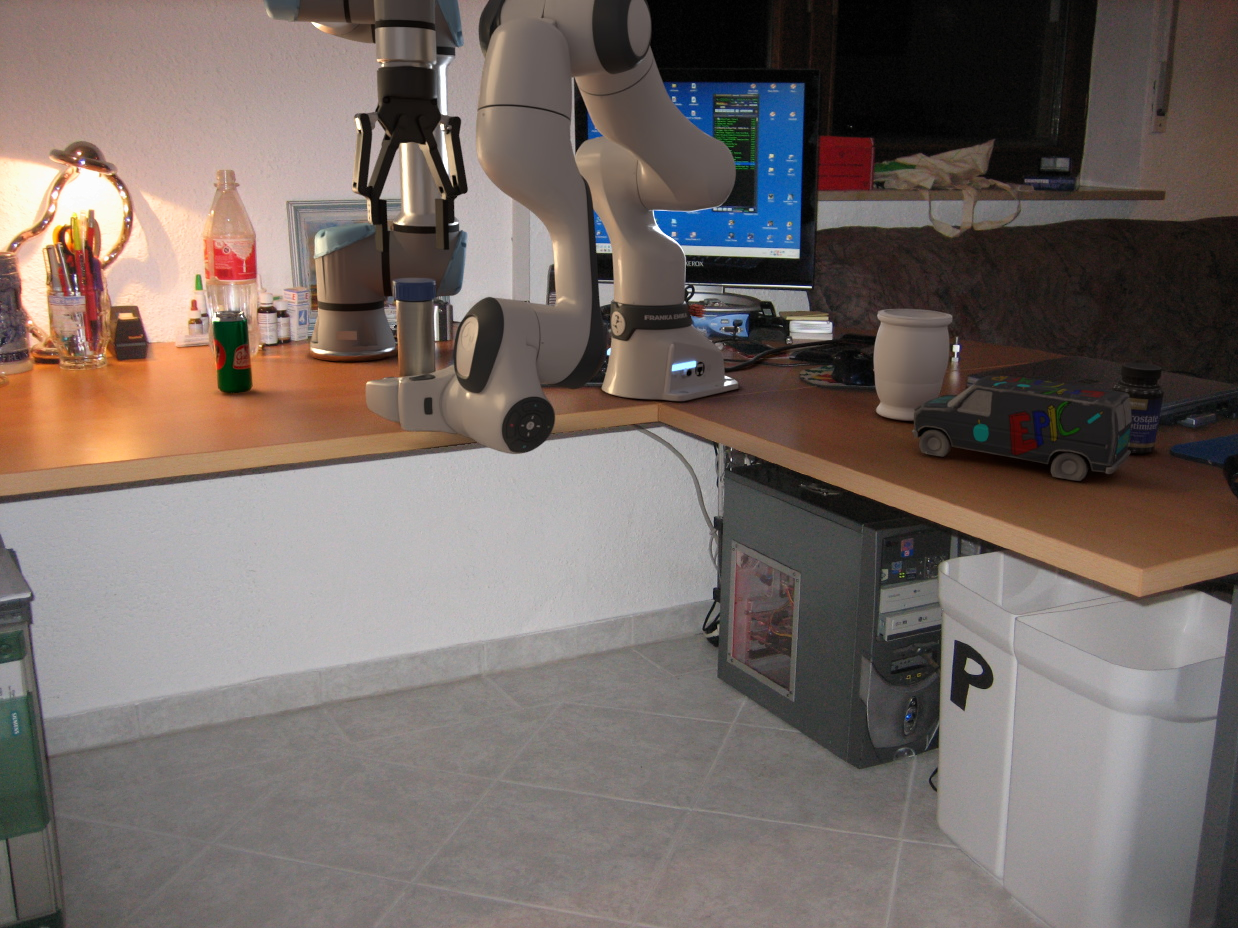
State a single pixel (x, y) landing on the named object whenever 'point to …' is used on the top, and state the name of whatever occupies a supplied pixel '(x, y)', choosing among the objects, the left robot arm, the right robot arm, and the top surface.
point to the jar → (909, 359)
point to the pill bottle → (1142, 403)
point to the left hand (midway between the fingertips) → (413, 249)
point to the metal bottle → (415, 337)
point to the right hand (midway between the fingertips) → (419, 379)
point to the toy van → (1031, 424)
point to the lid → (414, 289)
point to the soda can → (232, 352)
